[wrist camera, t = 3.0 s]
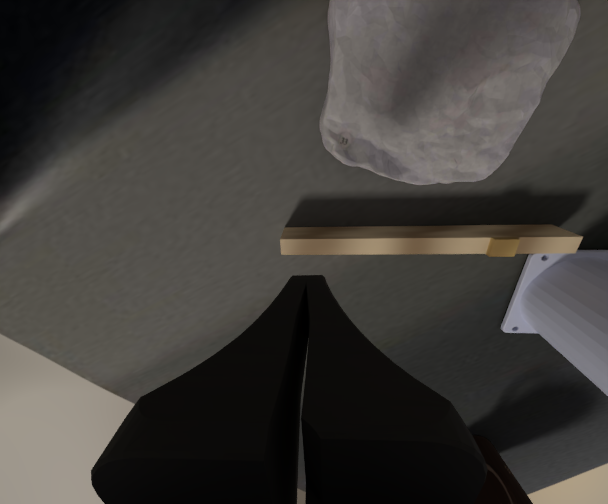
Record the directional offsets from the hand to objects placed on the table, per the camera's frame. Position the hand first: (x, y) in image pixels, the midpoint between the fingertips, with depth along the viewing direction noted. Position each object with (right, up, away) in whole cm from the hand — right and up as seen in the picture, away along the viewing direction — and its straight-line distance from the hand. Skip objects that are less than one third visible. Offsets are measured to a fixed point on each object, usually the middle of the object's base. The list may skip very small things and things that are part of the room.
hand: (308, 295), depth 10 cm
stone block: (+7, +12, +6) cm, 15 cm away
